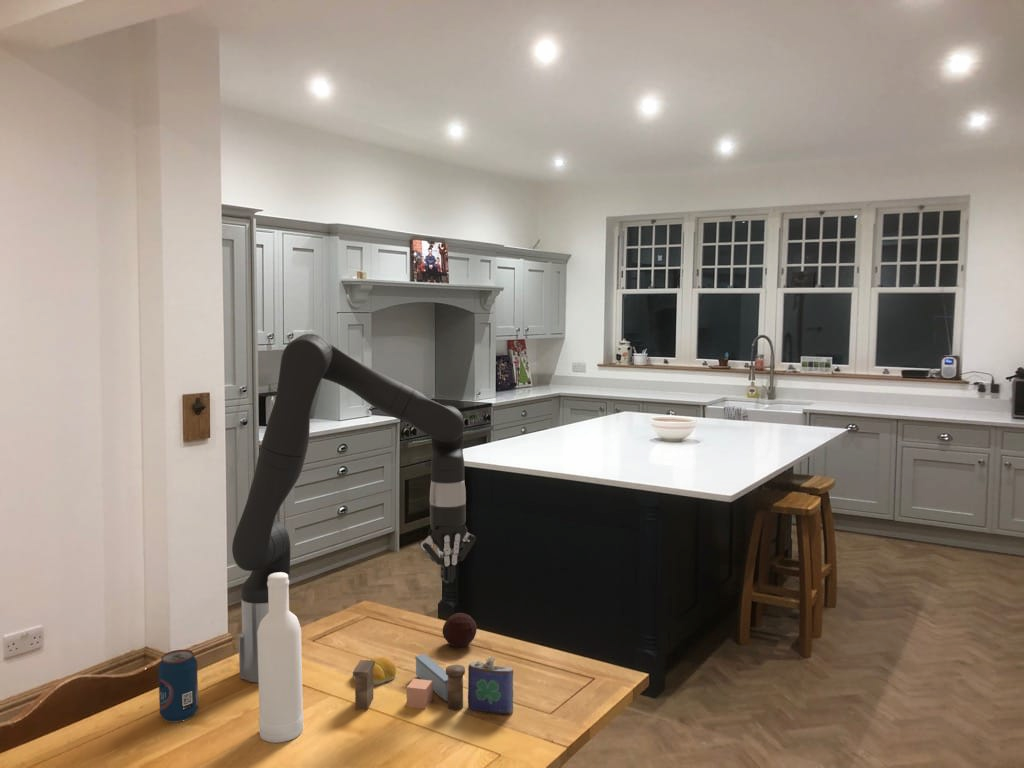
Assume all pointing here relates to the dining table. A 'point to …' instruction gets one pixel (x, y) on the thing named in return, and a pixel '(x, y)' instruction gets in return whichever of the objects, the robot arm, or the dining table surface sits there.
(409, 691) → the block
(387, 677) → the bread roll
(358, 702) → the stepped wooden slab
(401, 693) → the dining table surface
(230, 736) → the dining table surface
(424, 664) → the grey rectangular bar
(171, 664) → the soda can
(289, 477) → the robot arm
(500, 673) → the flask
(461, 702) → the dark brown cylindrical piece
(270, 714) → the bottle
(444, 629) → the dark maroon ball
